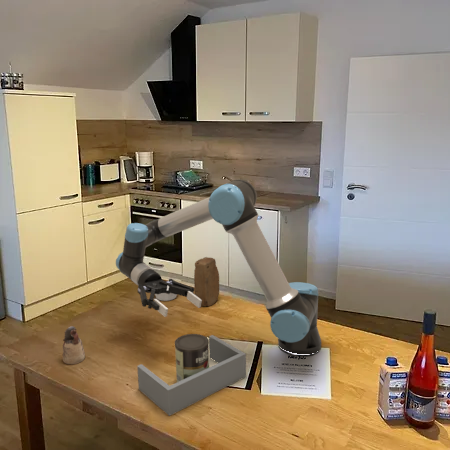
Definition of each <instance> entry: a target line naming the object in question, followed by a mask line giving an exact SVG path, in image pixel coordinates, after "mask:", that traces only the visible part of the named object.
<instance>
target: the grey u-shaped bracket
mask: <svg viewBox="0 0 450 450" xmlns="http://www.w3.org/2000/svg"><path fill="white" fill-rule="evenodd" d="M208 340H209V344H208V350H209V359H211V358H212V359H213V361H214V360H215V361H214V362H216V363H215V364H214V365H211V366H209V368H207V369H205V370H203V371H201V372H198V373H196V374H194V375H192V376H190V377H188V378H186V379H183V380H181V381H179V382H177V381H176V382H175V383H173V384H170V385H169V384H168V383H167V382H166V381H164V380H163V379H162V378H160V377H159V376H157V375H156V374H155V373H154V372H153V371H151V370H150V369H149V368H148V367H146V366H145V365H144V364H142V363H141V364H138V365H136V366H137V380H138V381H137V383H138V390H139V391H140V392H141V393H142V394H143V395H144V396H146V397H147V398H148V399H149V400H150V401H151V402H153V403H154V404H155V405H156V406H157V407H158V408H159V409H161V410H162V411H163V412H164V413H165V414H166V415H168V416H169V417H170V416H171V415H174V414H176V413H177V412H180V411H182V410H184V409H186V408H188V407H189V406H191V405H194V404H195V403H197V402H199V401H201V400H203V399H205V398H207V397H209V396H210V395H213V394H215V393H217V392H219V391H221V390H222V389H225V388H226V387H228V386H230V385H233V384H235V383H236V382H238V381H241V380H242V379H245V377H247V353H246V352H244V351H242V350H241V349H239V348H237V347H235V346H233V345H231V344H229V343H227V342H226V341H224V340H222V339H221V338H219V337H218V336H215V335H213V334H211V335H209V339H208ZM212 359H211V360H212ZM217 362H218V363H217Z"/></svg>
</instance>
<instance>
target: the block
mask: <svg viewBox="0 0 450 450" xmlns="http://www.w3.org/2000/svg"><path fill="white" fill-rule="evenodd" d="M193 274H194V278H193V282H194V284H193V285H194V286H193V288H194V294H195V295H197V297H198V298H200V299H201V300H202V303H201V307H210V306H212V305H214V304H215V303H216V302H217V301H218V300H219V299H218V298H219V296H220V273H219V269H218V267H217V263H216V259H215V258H213V257H207V256H206V257H203V258H199V259H198V260H196V261H195V262H194V273H193Z"/></svg>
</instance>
